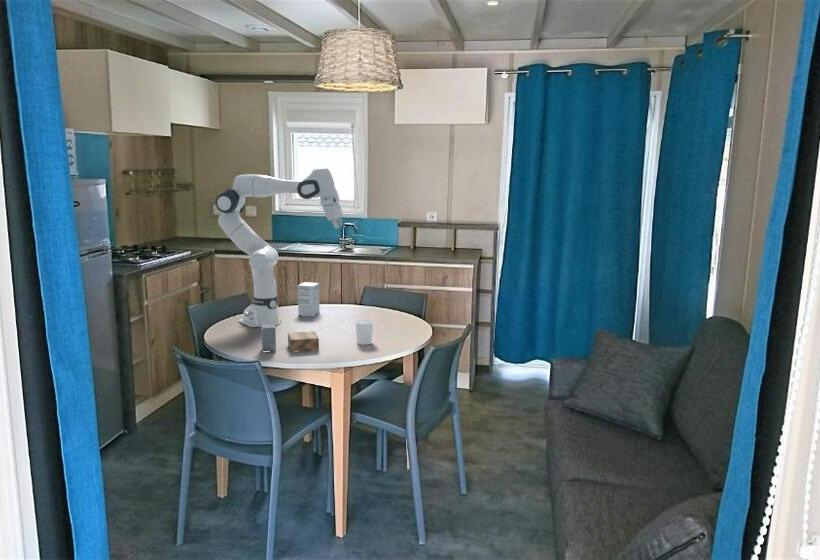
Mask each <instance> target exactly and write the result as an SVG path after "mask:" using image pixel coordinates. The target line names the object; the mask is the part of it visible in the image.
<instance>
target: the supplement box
mask: <svg viewBox="0 0 820 560" xmlns="http://www.w3.org/2000/svg"><path fill="white" fill-rule="evenodd" d="M320 307H321V306H320V283H319V282H308V281H307V282H306V281H305V282H302V283H299V284H298V285H297V310H298V311H297V312H298V315H297V316H299V315H302V317H315V316H317V315H318V314H320V313H319V312H320V310H321V309H320ZM316 314H317V315H316Z"/></svg>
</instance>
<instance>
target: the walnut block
mask: <svg viewBox="0 0 820 560" xmlns="http://www.w3.org/2000/svg"><path fill="white" fill-rule="evenodd" d="M319 342H320V338H319V336H318V335H317V333H316V331H311V330H310V331H299V332H298V331H297V332H288V333H287V346H288V345H289V346H288V348H289V347H290V348H289V351H290V353H291V352H294V351H308V352H313V351H312V350H319V351H320V345H319V344H320V343H319ZM294 353H295V352H294Z"/></svg>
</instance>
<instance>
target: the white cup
mask: <svg viewBox="0 0 820 560" xmlns="http://www.w3.org/2000/svg"><path fill="white" fill-rule="evenodd" d="M373 327H374V322H373V320H370V319H360V320H356V321H355V335H356V344H357V345H360V346H365V345H366V346H367V345H371V344H372V342H373V341H372V340H373V329H374V328H373Z"/></svg>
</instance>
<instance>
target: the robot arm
mask: <svg viewBox="0 0 820 560" xmlns="http://www.w3.org/2000/svg"><path fill="white" fill-rule="evenodd" d="M287 193H289V194H297V195H299V197H300V198H301V199H303V200H312V199H315V198H316V199H317V198H319V199H320V206H321V207H322V209H323V212H324V215H325V216H326V219H327V220H328V221H329V222H331V224H332V226H333V228H334V229H339V227H342V226H343V221H342V220H343V219H342V216H343V213H344V212H343V210H342V207H341V205H340V197H339V193H338V190H337V189H336V186H335V181H334V178H333V175H332V173H331V171H330V169H328V168H326V167H319V168H314V169H313V170H312V171H311V173H310V174H309V175H308V176H306V177H305V178H304V179H303V180H295V179H294V180H293V179H292V180H291V179H289V180H288V179H281V178H277V177H274V176H268V175H266V174H265V175H263V174H255V173H254V174H252V173H249V174H247V173H246V174H240V175H237V176H235V177H234V180H233V183H232V188H229V187H228V188H226V189H225V190H224V191H222V192H220V193H219V194H217V196H216V198H215V202H214V203H215V207H216V209H217V210H218V211H219V212H220V213H221V214H220V215H219V216H218V219H217V222H218V225H219V227H220V229H222V231H223V232H224V234H225V235H226V236H227V237H228V238H229V239H230V240H231V241H232V242H233V243H234V245H236V247H237V248H238V249H239V250H241V251H243V252H244V253H245V254H247V256H249V260H248V263H249V266H250V270H251V275H252V279H253V280H252V281H253V297H251V298H250V300H252V301H251V304H250V305H249V306H247V307H246V308H245V309H244V311H243V317H242V318H240V319H238V322H239V323H241V324H243V325H245V326H248V327H250V328H257V327H259V328H261V325H271V324H274V325H275V326H278V325H280V324H281V320H282V318H280V312H279V305H278V295H277V281H276V278H275V277H276V276H275V273H274V266H275V265H277V263H278V260H279V254H278V251H277V249H275V248H274V247H273V246H271V245H270V244H268V242H266V241H265V240H264V239H263V238H261V237H260V236H259V235H258V234H257V233H256V231H254V230H253V229H252V228H251V227H250V226H249V225H248V223H247V222H246V221H244V219H243V218H242V217H241V215H240V214H241V213H242V212H243V210H244V209H245V206H246V205H247V201H248V198H249V197H250V198H251V197H253V198H268V197H272V196H275V195H280V194H287Z"/></svg>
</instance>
